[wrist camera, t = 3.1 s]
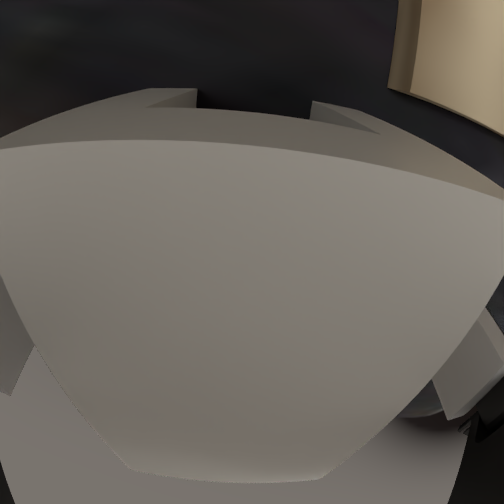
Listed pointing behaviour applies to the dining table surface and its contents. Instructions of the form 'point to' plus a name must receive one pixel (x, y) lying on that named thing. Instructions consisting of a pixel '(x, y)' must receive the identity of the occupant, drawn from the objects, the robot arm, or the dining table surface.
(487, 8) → the wooden peg board
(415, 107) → the dining table surface
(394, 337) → the white block
